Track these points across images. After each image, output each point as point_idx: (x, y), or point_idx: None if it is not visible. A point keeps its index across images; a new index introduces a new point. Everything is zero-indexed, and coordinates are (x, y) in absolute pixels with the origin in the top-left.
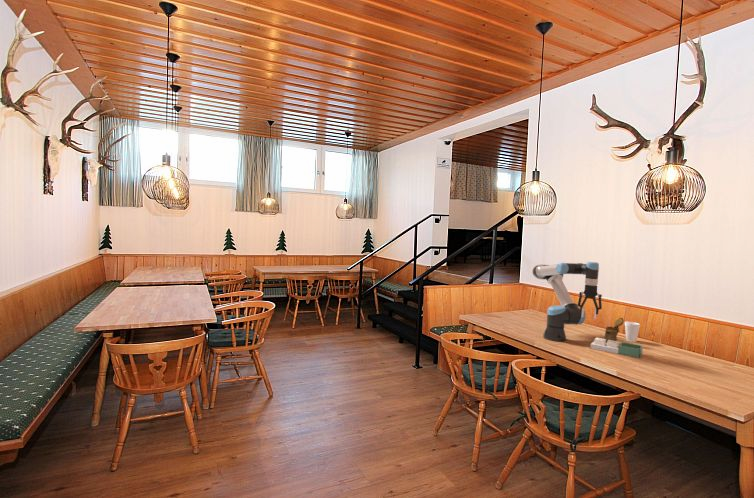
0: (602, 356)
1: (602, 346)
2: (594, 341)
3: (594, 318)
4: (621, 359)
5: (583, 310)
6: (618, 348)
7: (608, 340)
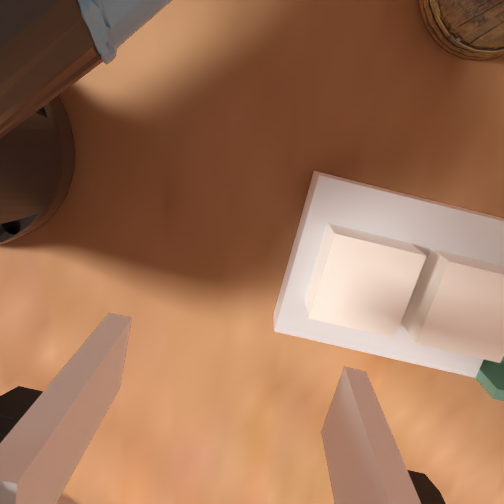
0: None
1: (362, 350)
2: (307, 308)
3: (328, 445)
4: (444, 476)
5: (60, 455)
6: (479, 381)
7: (438, 293)
